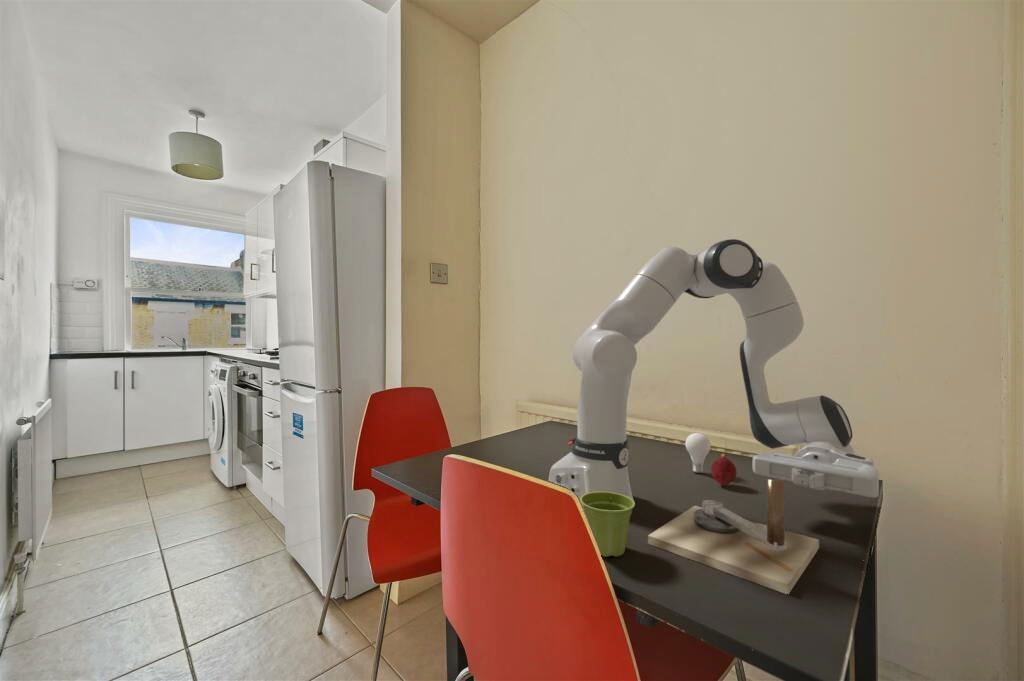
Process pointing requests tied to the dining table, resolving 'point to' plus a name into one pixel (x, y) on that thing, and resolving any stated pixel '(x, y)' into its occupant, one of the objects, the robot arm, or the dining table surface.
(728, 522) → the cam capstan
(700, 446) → the lightbulb
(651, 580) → the dining table surface
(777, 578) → the stand
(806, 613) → the dining table surface
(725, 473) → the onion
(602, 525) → the plant pot
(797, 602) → the dining table surface
